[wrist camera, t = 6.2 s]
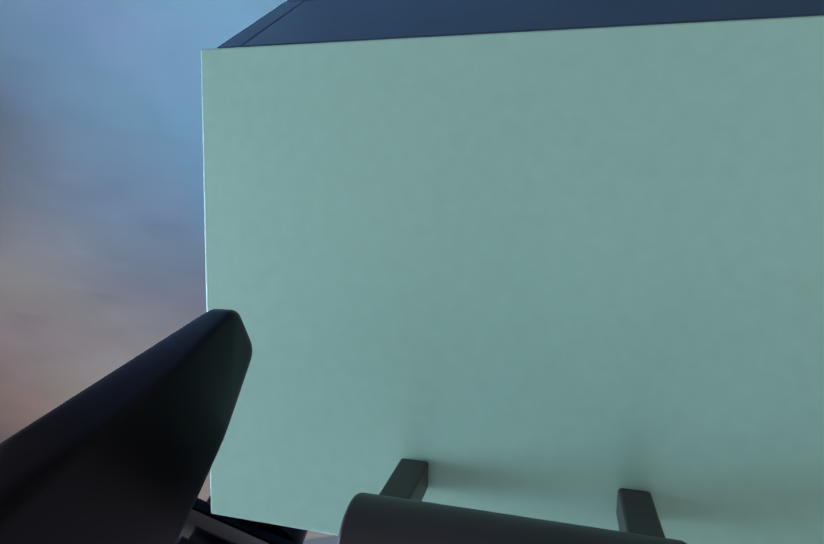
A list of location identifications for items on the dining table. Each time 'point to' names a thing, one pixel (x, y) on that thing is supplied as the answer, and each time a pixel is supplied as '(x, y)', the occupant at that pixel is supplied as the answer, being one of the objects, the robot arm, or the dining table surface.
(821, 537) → the lunchbox lid
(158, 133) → the dining table surface
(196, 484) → the robot arm
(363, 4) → the lunchbox
